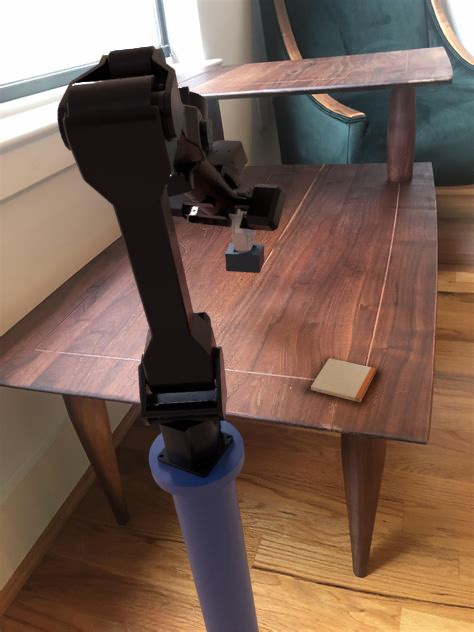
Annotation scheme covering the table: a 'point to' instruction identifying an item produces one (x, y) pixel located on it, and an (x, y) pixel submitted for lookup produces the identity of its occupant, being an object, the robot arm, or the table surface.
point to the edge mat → (344, 379)
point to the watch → (243, 249)
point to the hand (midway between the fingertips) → (245, 225)
